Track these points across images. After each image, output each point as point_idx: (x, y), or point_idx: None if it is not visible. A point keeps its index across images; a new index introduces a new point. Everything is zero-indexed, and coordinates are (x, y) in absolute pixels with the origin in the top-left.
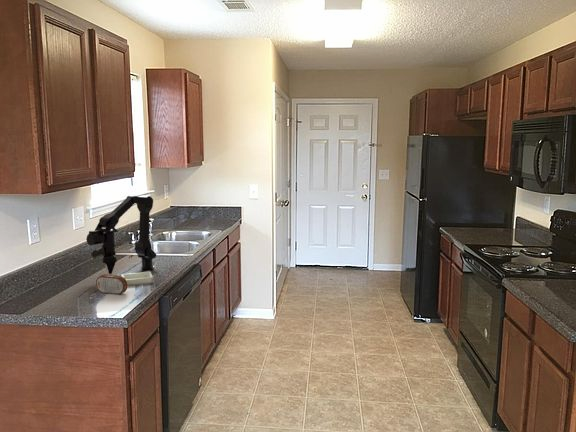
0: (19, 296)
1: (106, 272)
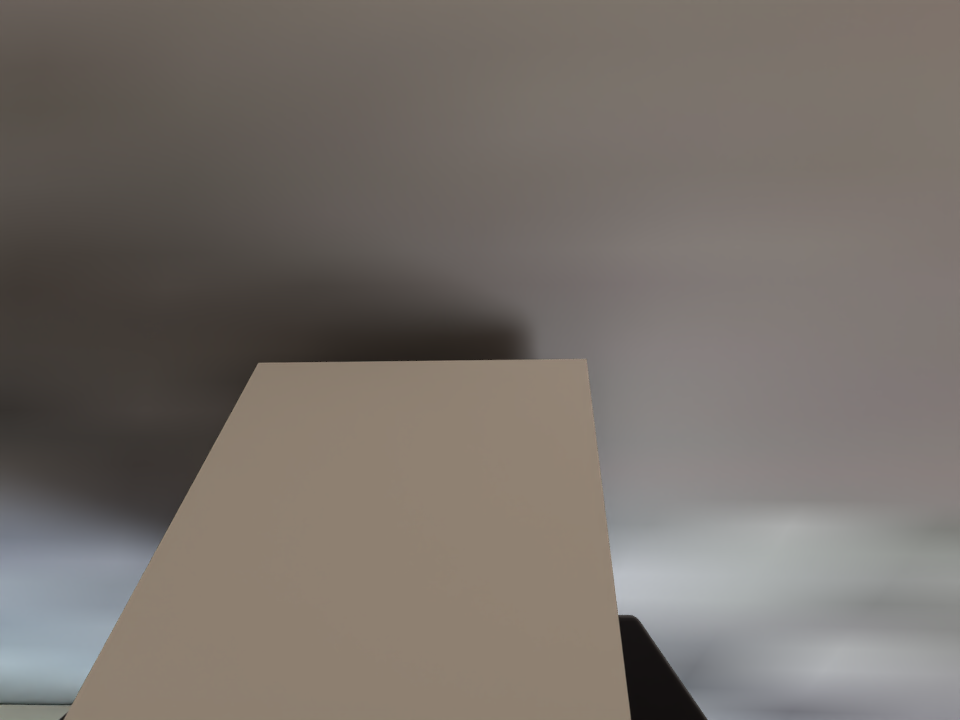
0: None
1: (169, 569)
